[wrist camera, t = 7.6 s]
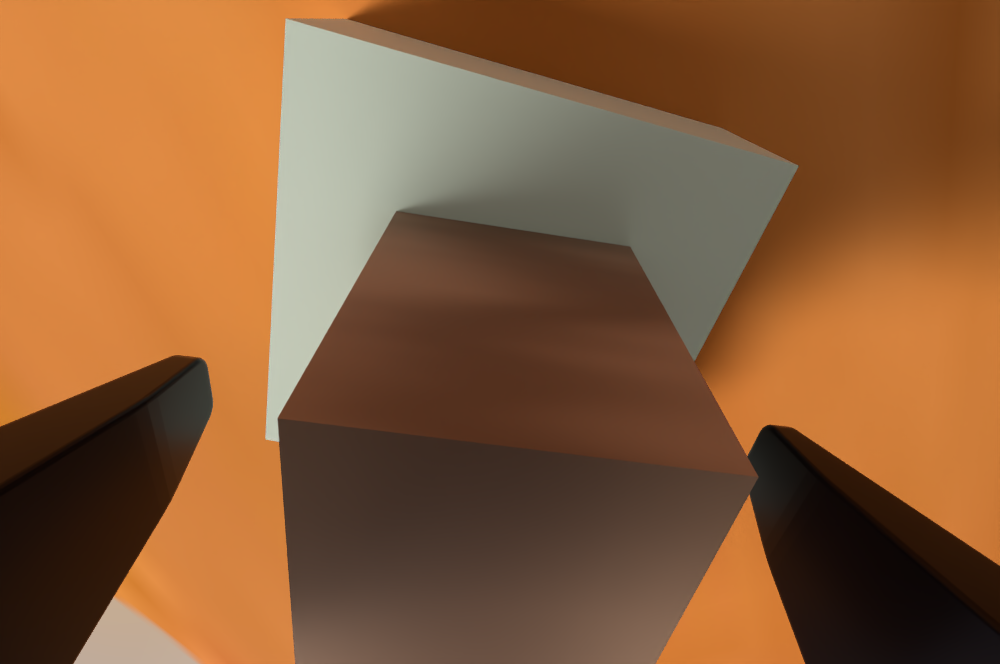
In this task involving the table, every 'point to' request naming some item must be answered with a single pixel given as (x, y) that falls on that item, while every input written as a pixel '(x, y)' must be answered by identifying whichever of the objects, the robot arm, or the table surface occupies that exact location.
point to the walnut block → (501, 458)
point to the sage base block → (492, 177)
